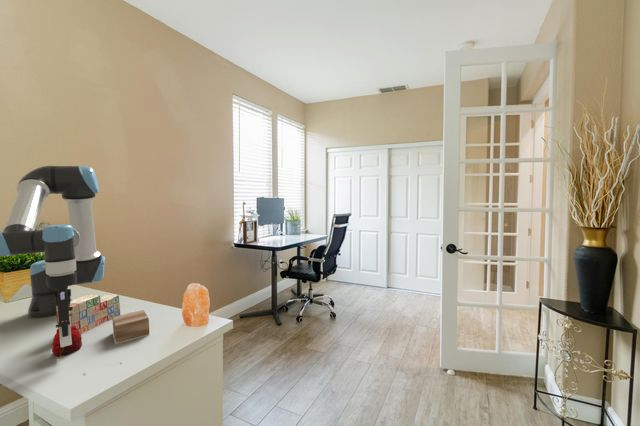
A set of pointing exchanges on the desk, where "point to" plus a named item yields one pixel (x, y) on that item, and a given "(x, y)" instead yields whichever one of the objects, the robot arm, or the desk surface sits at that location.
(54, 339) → the red clay folk toy
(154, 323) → the desk surface
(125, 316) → the plinth
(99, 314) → the stack of blocks
